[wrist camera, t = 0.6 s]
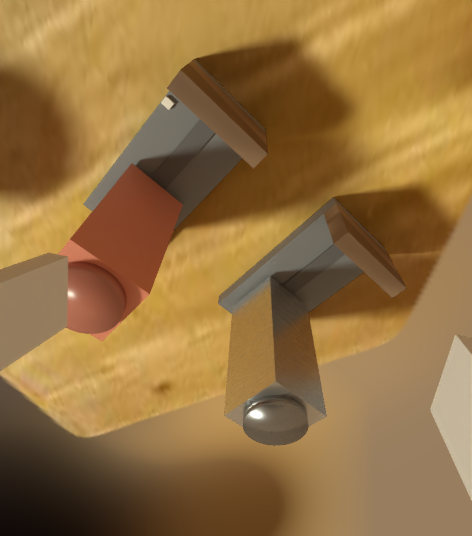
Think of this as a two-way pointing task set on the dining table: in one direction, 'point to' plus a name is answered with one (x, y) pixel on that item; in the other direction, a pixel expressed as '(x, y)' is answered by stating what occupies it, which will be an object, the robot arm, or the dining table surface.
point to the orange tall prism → (118, 253)
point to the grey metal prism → (272, 367)
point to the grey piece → (190, 141)
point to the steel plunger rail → (320, 260)
